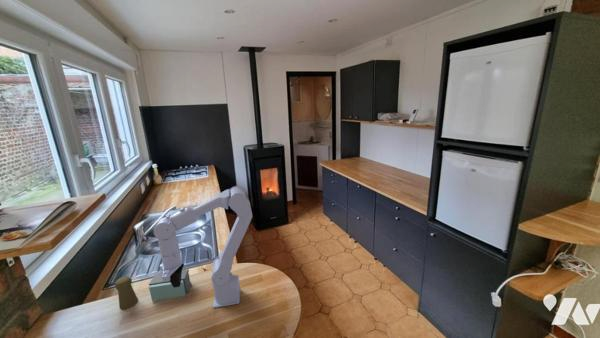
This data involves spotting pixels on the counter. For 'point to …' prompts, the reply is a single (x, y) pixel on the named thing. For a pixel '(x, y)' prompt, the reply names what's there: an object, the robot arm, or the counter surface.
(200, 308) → the counter surface
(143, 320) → the counter surface
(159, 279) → the cupboard
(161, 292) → the sage green bent plank
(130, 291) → the cork
